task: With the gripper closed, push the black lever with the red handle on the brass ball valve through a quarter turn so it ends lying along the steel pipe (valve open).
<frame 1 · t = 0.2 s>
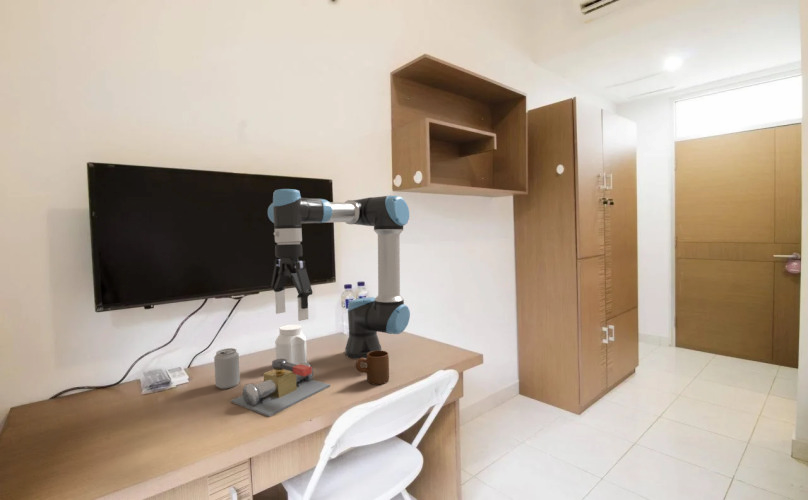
hand: (291, 316, 111), 27 cm above the table, fingers open, 13 cm apart
jar: (292, 366, 147), on the table
mat: (282, 393, 122), on the table
can: (228, 385, 130), on the table
mug: (372, 382, 130), on the table
lever: (290, 367, 119), point 9 cm above the table, hinge at 90.0°
valve: (280, 393, 122), resting on mat
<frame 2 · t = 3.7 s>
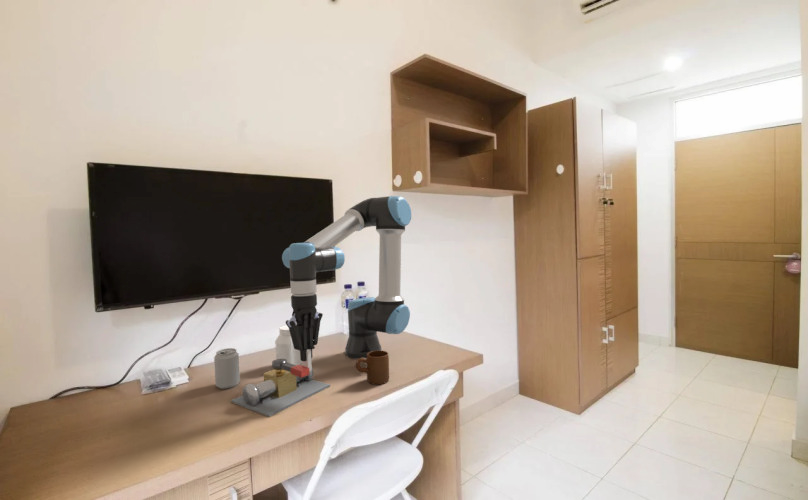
hand: (307, 370, 117), 9 cm above the table, fingers closed
lever: (289, 367, 118), point 9 cm above the table, hinge at 85.7°, touching gripper
everything else where it was.
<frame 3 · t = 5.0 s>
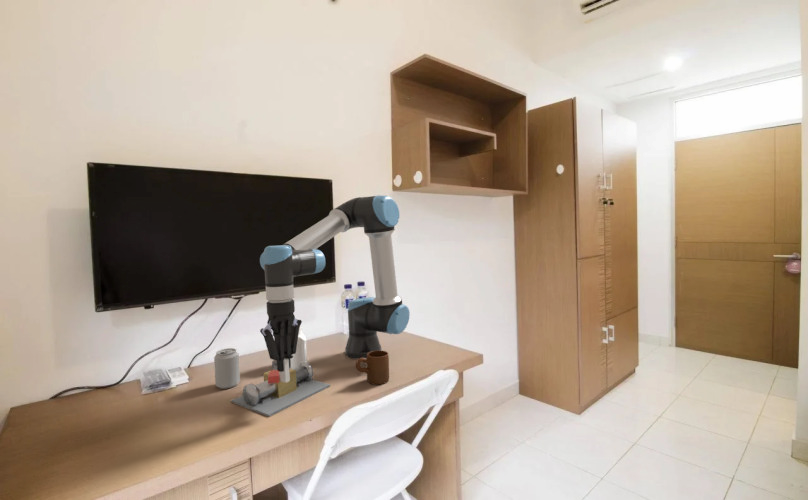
hand: (284, 380, 110), 9 cm above the table, fingers closed
lever: (277, 370, 116), point 9 cm above the table, hinge at 44.1°, touching gripper
everything else where it was.
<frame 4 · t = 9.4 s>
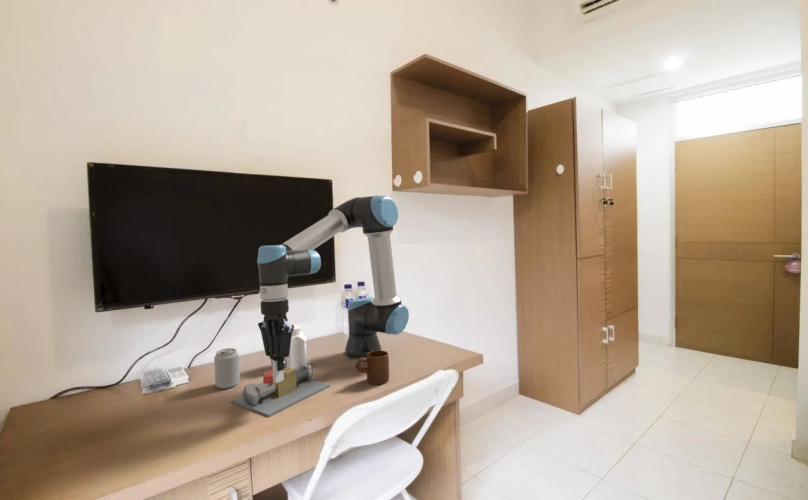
hand: (278, 381, 109), 9 cm above the table, fingers closed
lever: (275, 370, 116), point 9 cm above the table, hinge at 38.4°, touching gripper
everything else where it was.
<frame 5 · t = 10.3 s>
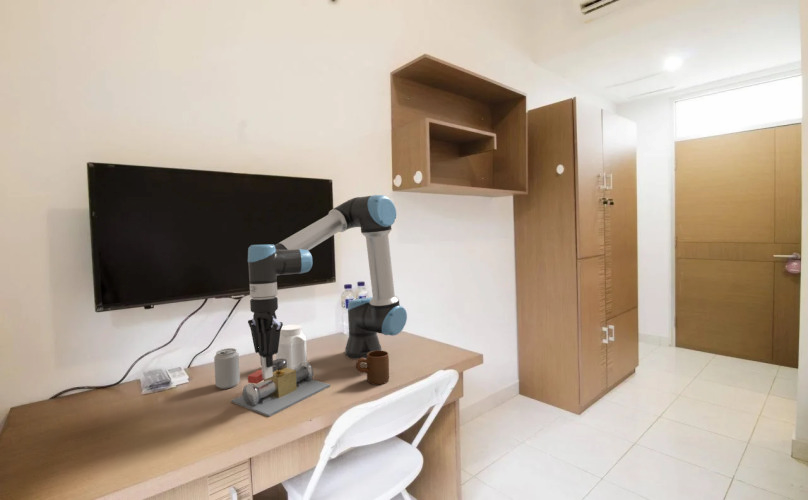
hand: (267, 377, 112), 9 cm above the table, fingers closed
lever: (268, 370, 116), point 9 cm above the table, hinge at 16.8°, touching gripper
everything else where it was.
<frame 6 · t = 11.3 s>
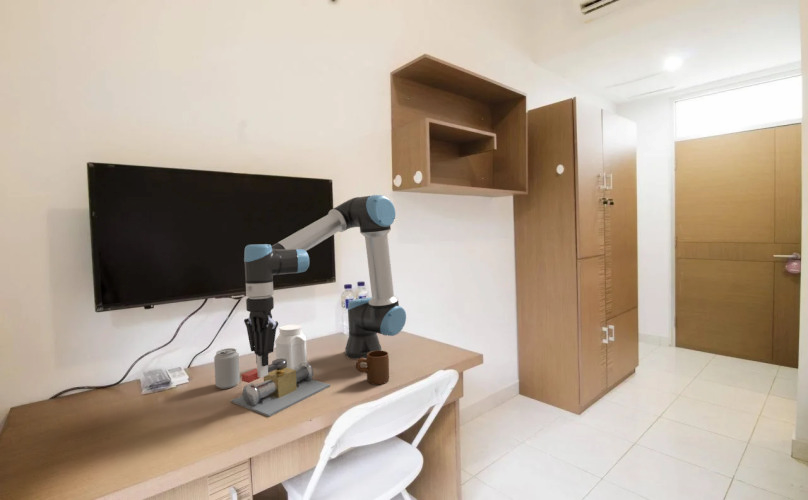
hand: (262, 375, 113), 9 cm above the table, fingers closed
lever: (266, 369, 117), point 9 cm above the table, hinge at 5.1°, touching gripper
everything else where it was.
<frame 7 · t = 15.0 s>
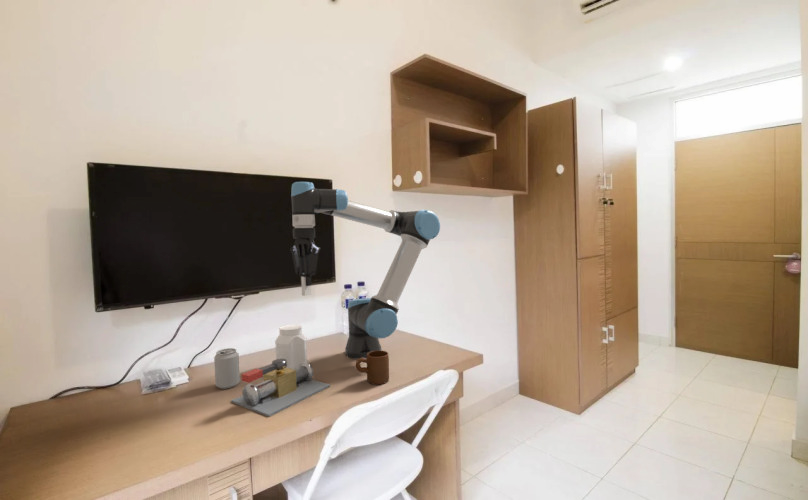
hand: (306, 294, 133), 29 cm above the table, fingers closed
lever: (266, 369, 117), point 9 cm above the table, hinge at 5.0°
everything else where it was.
at the end: lever at +5° (first picture: +90°); lever touching nothing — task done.
